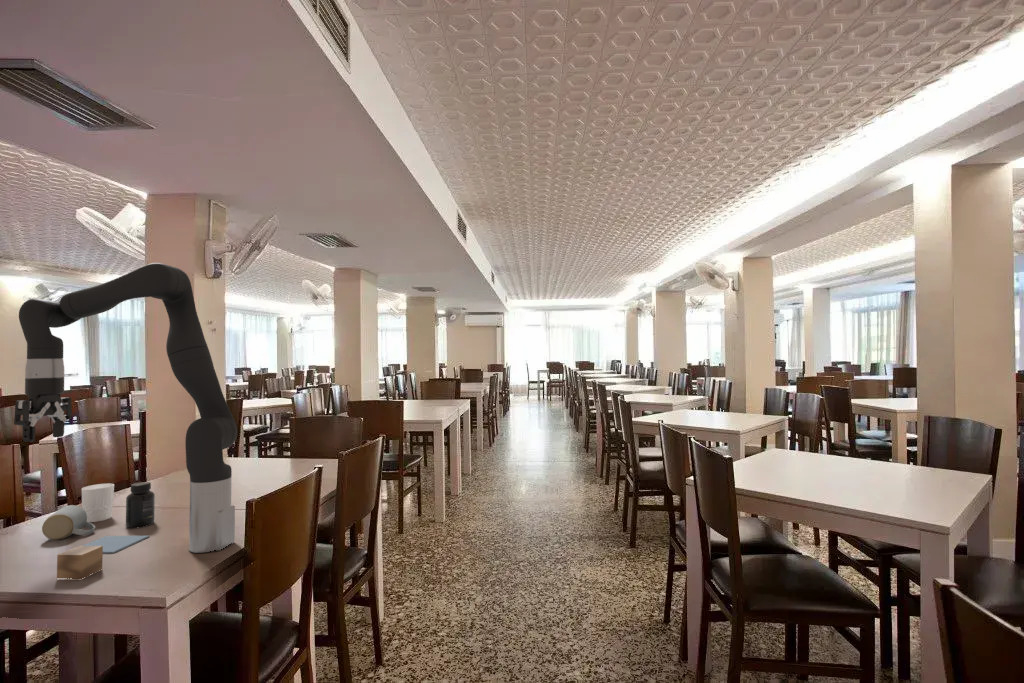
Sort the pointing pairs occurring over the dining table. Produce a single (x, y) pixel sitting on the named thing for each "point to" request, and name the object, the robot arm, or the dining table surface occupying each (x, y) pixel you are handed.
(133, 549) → the dining table surface
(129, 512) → the supplement bottle
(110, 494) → the white cup
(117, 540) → the slate mat
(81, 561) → the walnut block
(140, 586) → the dining table surface
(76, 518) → the ceramic mug
